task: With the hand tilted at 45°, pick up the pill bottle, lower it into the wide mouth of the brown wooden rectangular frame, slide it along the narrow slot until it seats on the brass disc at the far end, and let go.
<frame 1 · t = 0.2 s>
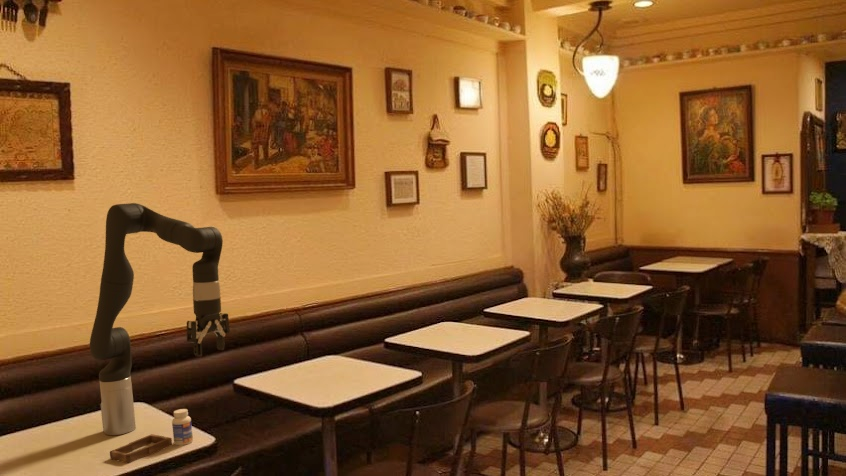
hand: (209, 352, 201), 28 cm above the table, tool pointing down, fingers open, 8 cm apart
brown wooden rectangular frame: (142, 451, 205), on the table
pill bottle: (183, 443, 210), on the table
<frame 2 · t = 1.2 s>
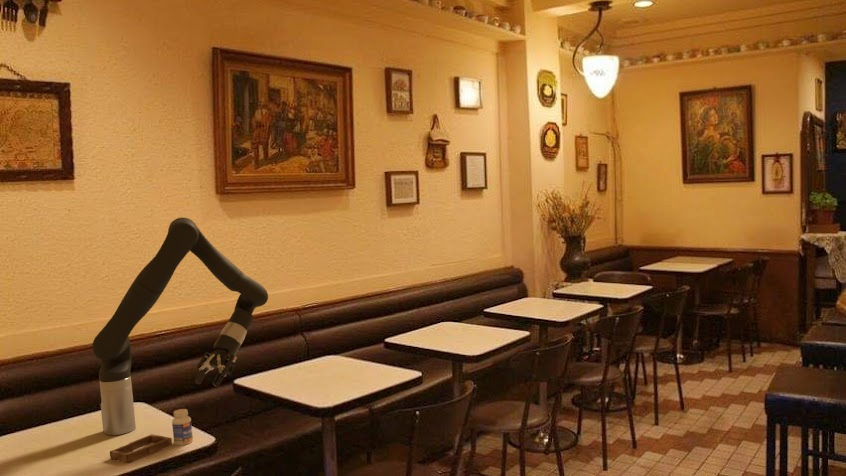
hand: (205, 384, 217), 15 cm above the table, tool tilted 45°, fingers open, 8 cm apart
nothing on the table moved.
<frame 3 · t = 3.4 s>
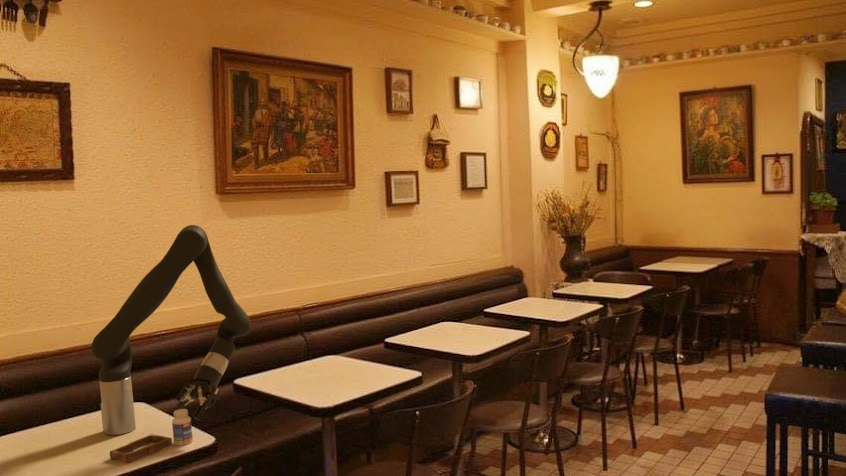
hand: (186, 417, 211), 7 cm above the table, tool tilted 45°, fingers open, 8 cm apart
nothing on the table moved.
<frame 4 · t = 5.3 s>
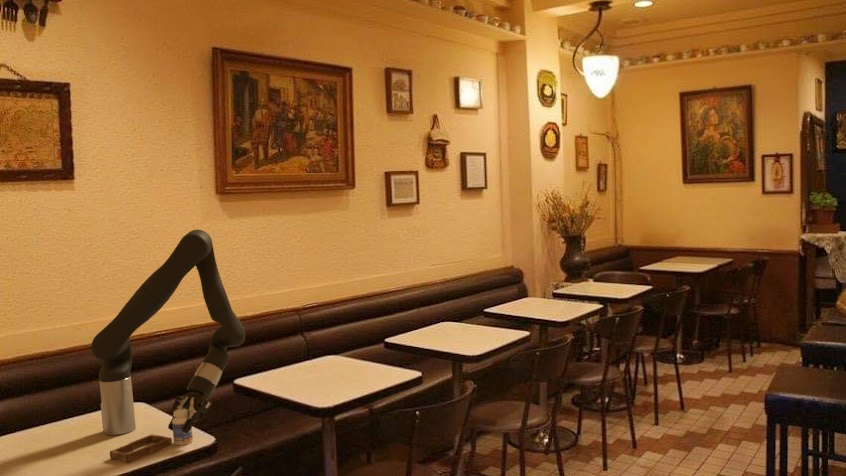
hand: (177, 430, 209), 4 cm above the table, tool tilted 45°, fingers closed on pill bottle, 5 cm apart
pill bottle: (183, 443, 210), on the table, touching gripper
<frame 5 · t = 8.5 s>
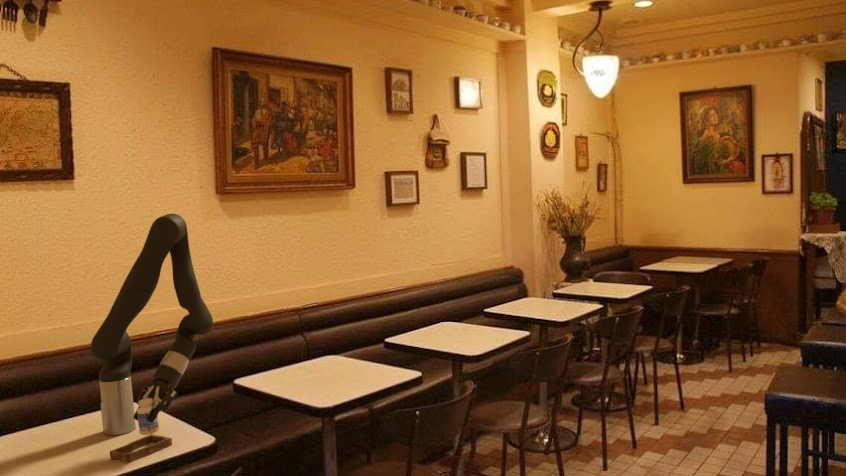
hand: (142, 420, 205), 9 cm above the table, tool tilted 45°, fingers closed on pill bottle, 5 cm apart
pill bottle: (149, 432, 207), point 5 cm above the table, touching gripper
when the fingers open (5 cm above the table, at t = 11.6 s): pill bottle stays where it is, resting on brown wooden rectangular frame.
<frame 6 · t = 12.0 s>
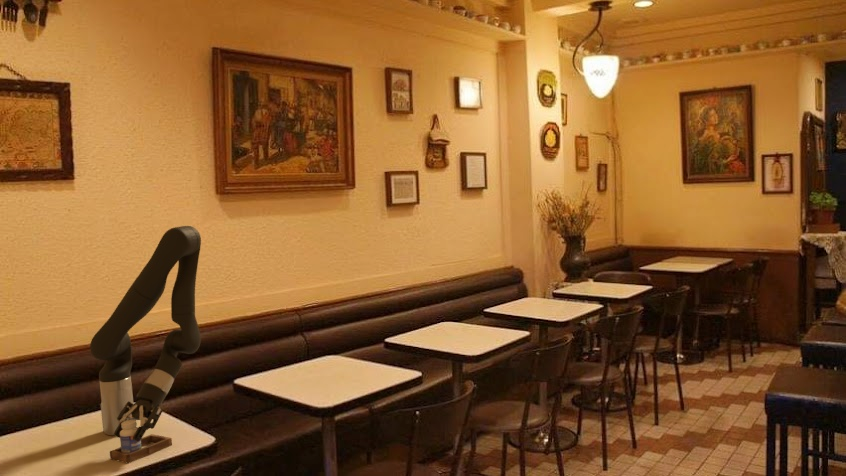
hand: (126, 438, 200), 6 cm above the table, tool tilted 45°, fingers open, 8 cm apart
pill bottle: (132, 455, 202), resting on brown wooden rectangular frame
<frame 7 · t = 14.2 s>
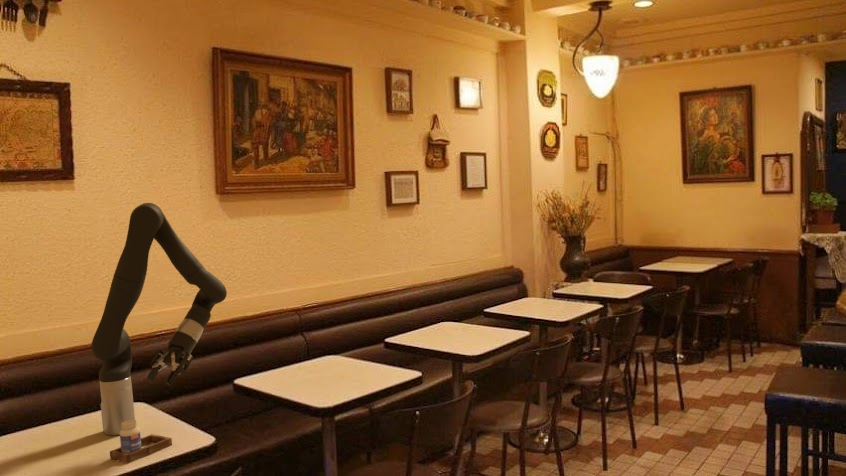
hand: (158, 382, 210), 19 cm above the table, tool tilted 45°, fingers open, 8 cm apart
nothing on the table moved.
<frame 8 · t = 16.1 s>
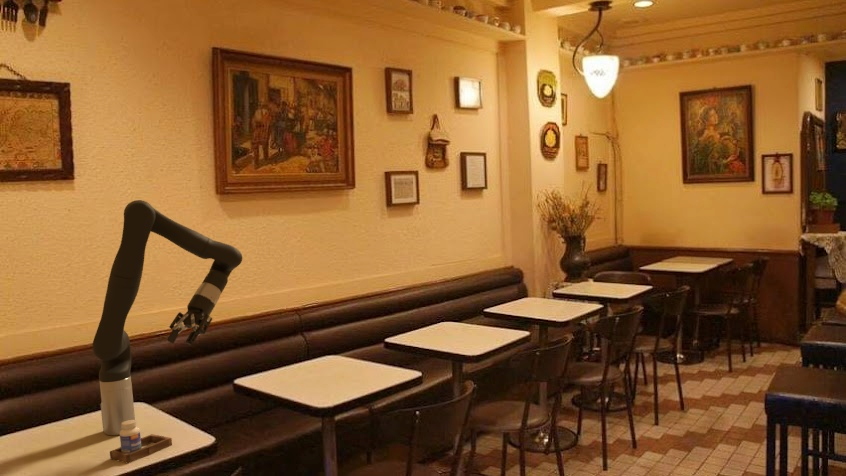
hand: (179, 343, 216), 29 cm above the table, tool tilted 45°, fingers open, 8 cm apart
nothing on the table moved.
at the end: pill bottle 0.2 cm from the target spot, resting on brown wooden rectangular frame; pill bottle tilted 0°; the gripper is holding nothing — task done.
